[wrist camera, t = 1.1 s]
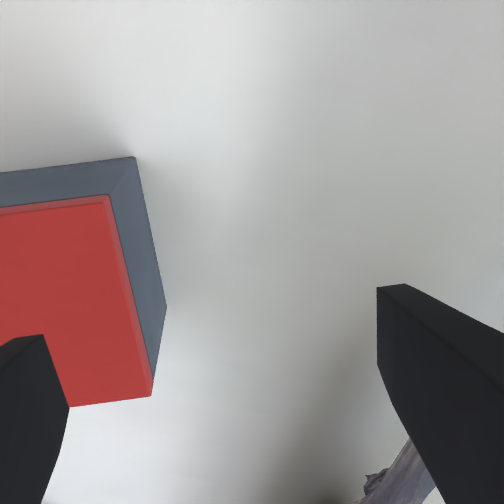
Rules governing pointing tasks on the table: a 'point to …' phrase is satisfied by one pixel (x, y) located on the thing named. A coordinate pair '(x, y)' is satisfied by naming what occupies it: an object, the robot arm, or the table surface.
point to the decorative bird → (400, 481)
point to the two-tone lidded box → (83, 276)
